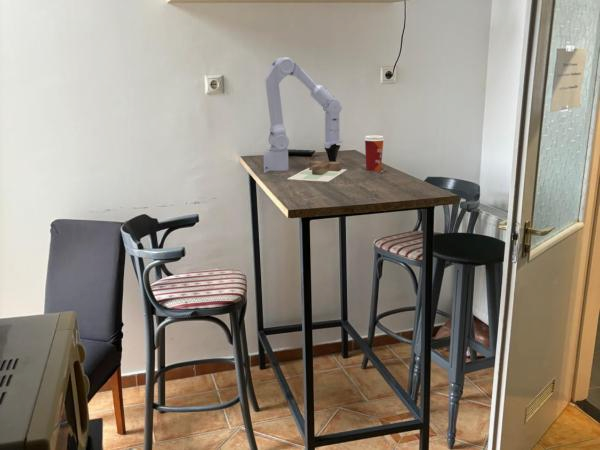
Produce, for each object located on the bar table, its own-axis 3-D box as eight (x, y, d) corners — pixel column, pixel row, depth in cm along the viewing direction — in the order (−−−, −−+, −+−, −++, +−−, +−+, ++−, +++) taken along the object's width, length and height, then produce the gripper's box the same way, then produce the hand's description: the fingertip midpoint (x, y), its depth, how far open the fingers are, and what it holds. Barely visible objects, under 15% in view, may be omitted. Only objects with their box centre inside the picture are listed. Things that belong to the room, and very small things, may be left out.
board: (286, 181, 218) (286, 179, 218) (308, 169, 239) (308, 167, 239) (328, 184, 212) (328, 181, 212) (347, 171, 234) (347, 169, 234)
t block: (302, 173, 227) (302, 165, 226) (312, 168, 237) (312, 160, 237) (332, 175, 223) (332, 167, 222) (341, 169, 233) (341, 162, 233)
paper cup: (382, 174, 229) (383, 137, 225) (362, 173, 230) (363, 137, 226) (384, 170, 236) (384, 135, 232) (364, 169, 238) (365, 134, 234)
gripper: (336, 132, 230) (336, 166, 234) (347, 127, 243) (346, 160, 247) (319, 131, 232) (319, 165, 236) (330, 127, 245) (330, 159, 249)
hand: (332, 163), depth 241 cm, fingers closed
